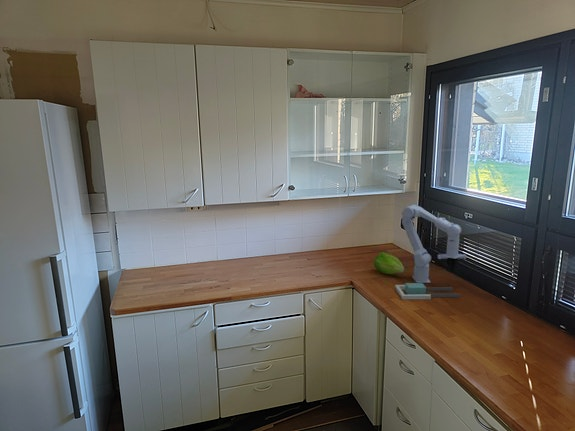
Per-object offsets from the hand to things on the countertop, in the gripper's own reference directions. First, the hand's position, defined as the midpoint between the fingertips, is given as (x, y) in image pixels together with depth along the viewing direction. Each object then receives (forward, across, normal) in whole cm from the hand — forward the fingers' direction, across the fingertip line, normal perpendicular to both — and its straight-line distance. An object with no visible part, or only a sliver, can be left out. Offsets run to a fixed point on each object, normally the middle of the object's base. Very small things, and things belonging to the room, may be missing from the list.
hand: (450, 271), depth 207 cm
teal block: (+10, -21, -8) cm, 25 cm away
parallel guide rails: (+9, -7, -8) cm, 14 cm away
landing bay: (+9, -22, -8) cm, 25 cm away
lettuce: (+10, -28, +20) cm, 36 cm away
